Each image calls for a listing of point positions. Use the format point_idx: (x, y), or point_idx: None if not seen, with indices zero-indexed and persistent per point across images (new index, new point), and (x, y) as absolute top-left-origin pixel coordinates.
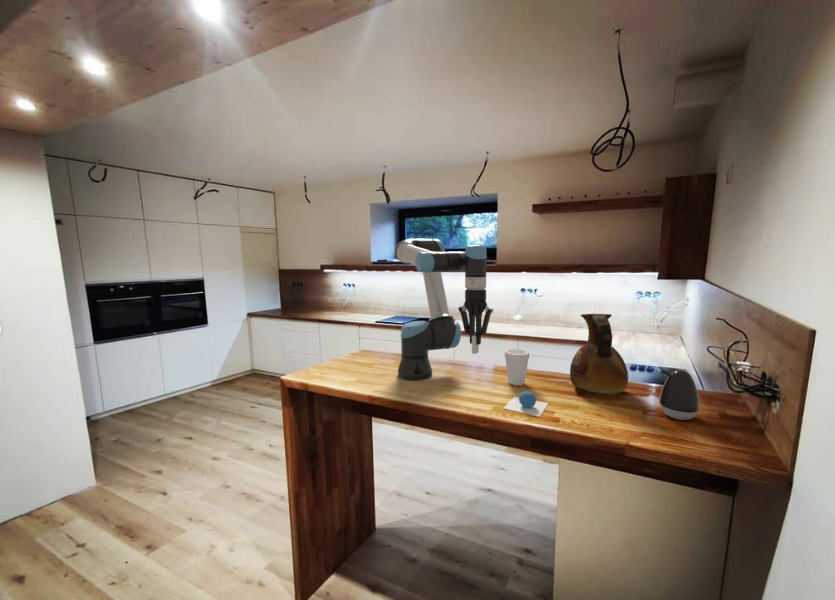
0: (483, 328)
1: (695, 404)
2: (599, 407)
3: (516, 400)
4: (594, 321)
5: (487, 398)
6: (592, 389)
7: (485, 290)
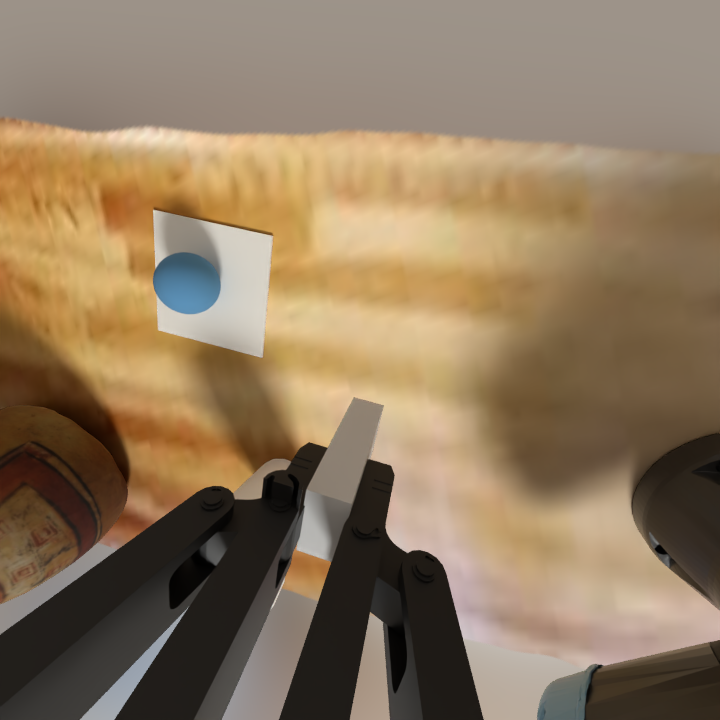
0: (147, 547)
1: None
2: (47, 344)
3: (248, 323)
4: None
5: (347, 316)
6: (45, 410)
7: None
